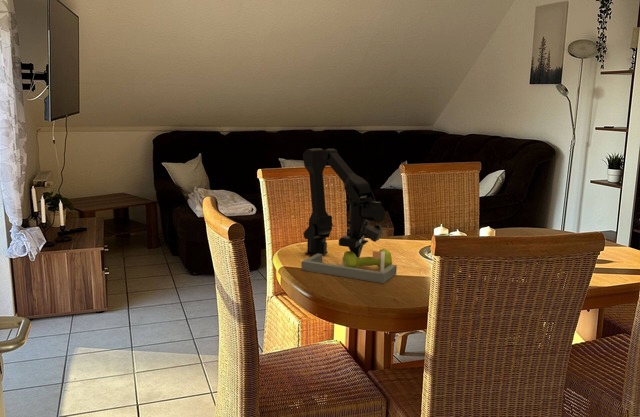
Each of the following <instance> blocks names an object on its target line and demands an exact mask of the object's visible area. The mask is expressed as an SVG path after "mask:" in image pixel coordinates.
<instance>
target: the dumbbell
mask: <svg viewBox="0 0 640 417" xmlns="http://www.w3.org/2000/svg"><path fill="white" fill-rule="evenodd" d="M378 252H385V262H384V269H385V268H387V267H388V266H389V265H391V264H392V265H393V259H392V254H391V251H390V250H388V249H385V248H384V249H383V248H382V249H379V251H378ZM342 266H346V267H352V268H359V267H369V266H370V267H371V266H377V267H378V269H379V270H380V269H381V259H378V258H373V256H362V257H361V256H360V257H359V258H358V257H357V256H356V254H355V253H354V252H352V251H350V250H346V251H345V252H344V254H343V256H342Z"/></svg>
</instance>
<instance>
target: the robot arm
mask: <svg viewBox="0 0 640 417" xmlns="http://www.w3.org/2000/svg"><path fill="white" fill-rule="evenodd" d="M302 159H303V165H304V169H306V170H307V172H308V174H309V184H310V185H309V187H310V199H311V200H310V201H311V209H312V210H311V211H312V212H311V213H310V216H309V219H308V227H307V228H306V229H305V230H304V232H303V238H304V239H306V240H307V245H306V247H307V248H306V250H307V251H306V252H305V255H307V256H313V255H315V254H317V253H318V254H323V256H324V255H326V254H328V242H327V238H329V237H330V235H331V232H332V230H333V226H334V225H333V216H332V215H329V214H328V212H327V210H326V196H325V185H324V174H323V173H324V170H325V168H326V166H327V164H328V165H329V167H330V168H331V169H332V170H333V171H334V173H335V174H336V175H337V176H338V177H339V179H340V180H341V181H342V182H343V187H344V191H345V193H346V194H347V196H348V197H349V198H348V199H347V200H345V203H346V204H348V205H349V219H348V220H347V222H346V223H347V225H348V226H349V229H348V231H347V232H346V235H343V236H342V237H340V238H339V239H338V246H339V247H347V248H348V249H349V251H352V252H354V253H355V254H356V256H357V257H358V258H361V254H362V251H363V248H364V245H366V244H367V243H368V242H369V240H370V241H372V242H374V243H375V242H377V241H380V238H381V236H382V235H383V229H382V225H380V224H379V223H381V222H383V221H384V219H385V218H386V209H385V207H384V206H382V202H381V201H377V200H376V198H375V195H374V193H373V191H372V189H371V185H370V183H369V182H367V180H365V179H364V178H363V177H361V176H359V175H357V174H356V173H355V172H354V171H353V170H352V169H351V168H350V166H349V165H348V164H347V162H346V161H345V160H344V158H342V157H341V156H340V154H339V152H338V150H337V149H335V148H327V149H326V148H325V149H323V148H320V147H319V148H309V149H306V150H305V151H304V152H303V154H302ZM370 222H375V223H377V224H376V225H370V224H369V223H370ZM366 238H368V239H369V240H367V239H366Z"/></svg>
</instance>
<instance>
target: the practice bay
mask: <svg viewBox="0 0 640 417" xmlns="http://www.w3.org/2000/svg"><path fill="white" fill-rule="evenodd" d="M323 256H324V255H323V254H318V253H317V254H315V255H310V257H308V258H306V259H304V260H302V261H301V271H307V272H312V273H319V274H324V275H331V276H338V277H342V278H347V279H348V278H349V279H355V280H362V281H367V282H374V283H380V284H385V283H387V282H388V281H389V280H390V279H391V278H393V277H394V276H396V274H397V271H398V270H397V264H393V263H392V264H391V265H389V266H388V267H387V268H385V269H384V262H385V252H379V251H378V250H377V251H376V250H372V257H373V258H378V259H381V269H379V270H380V271H377V270H371V269H364V268H359V267H357V268H352V267H346V266H343V265H338V264H332V263H325V262H323Z"/></svg>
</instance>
